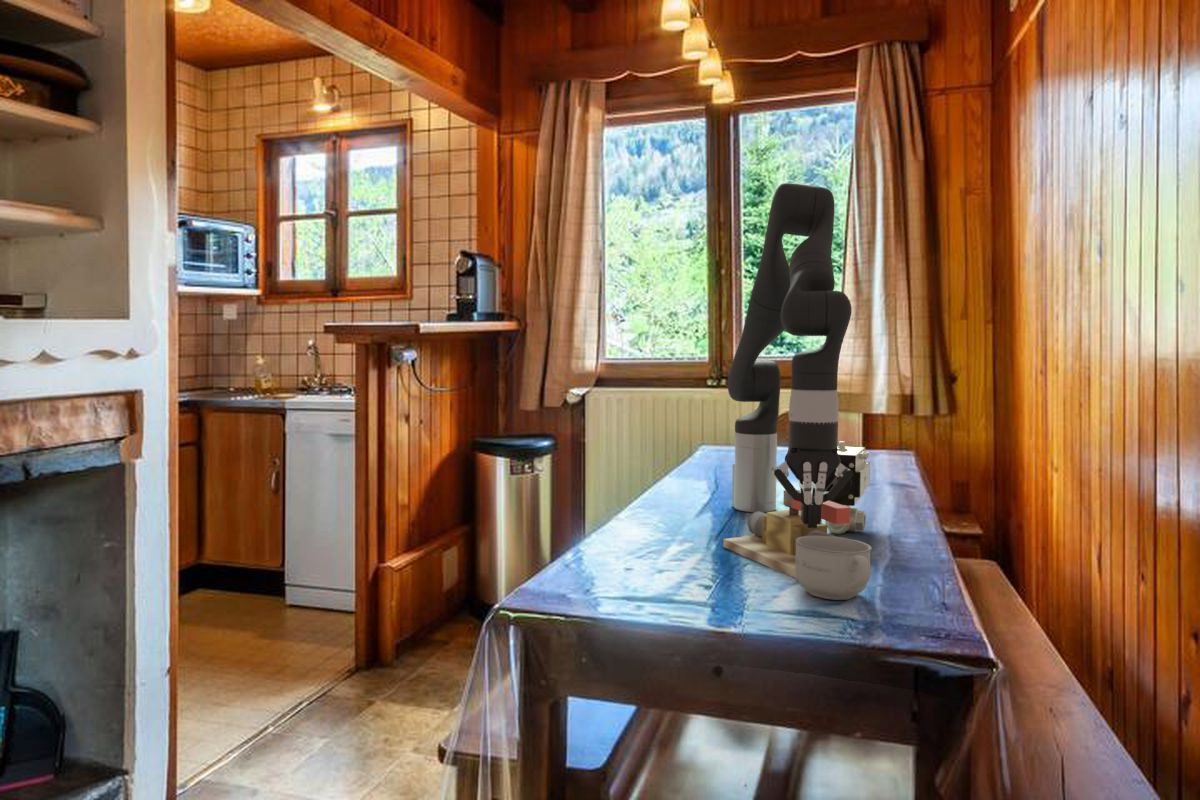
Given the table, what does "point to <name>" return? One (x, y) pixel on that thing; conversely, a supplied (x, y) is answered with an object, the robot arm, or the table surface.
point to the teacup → (832, 566)
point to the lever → (823, 509)
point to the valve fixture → (774, 539)
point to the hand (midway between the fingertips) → (810, 526)
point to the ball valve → (851, 487)
